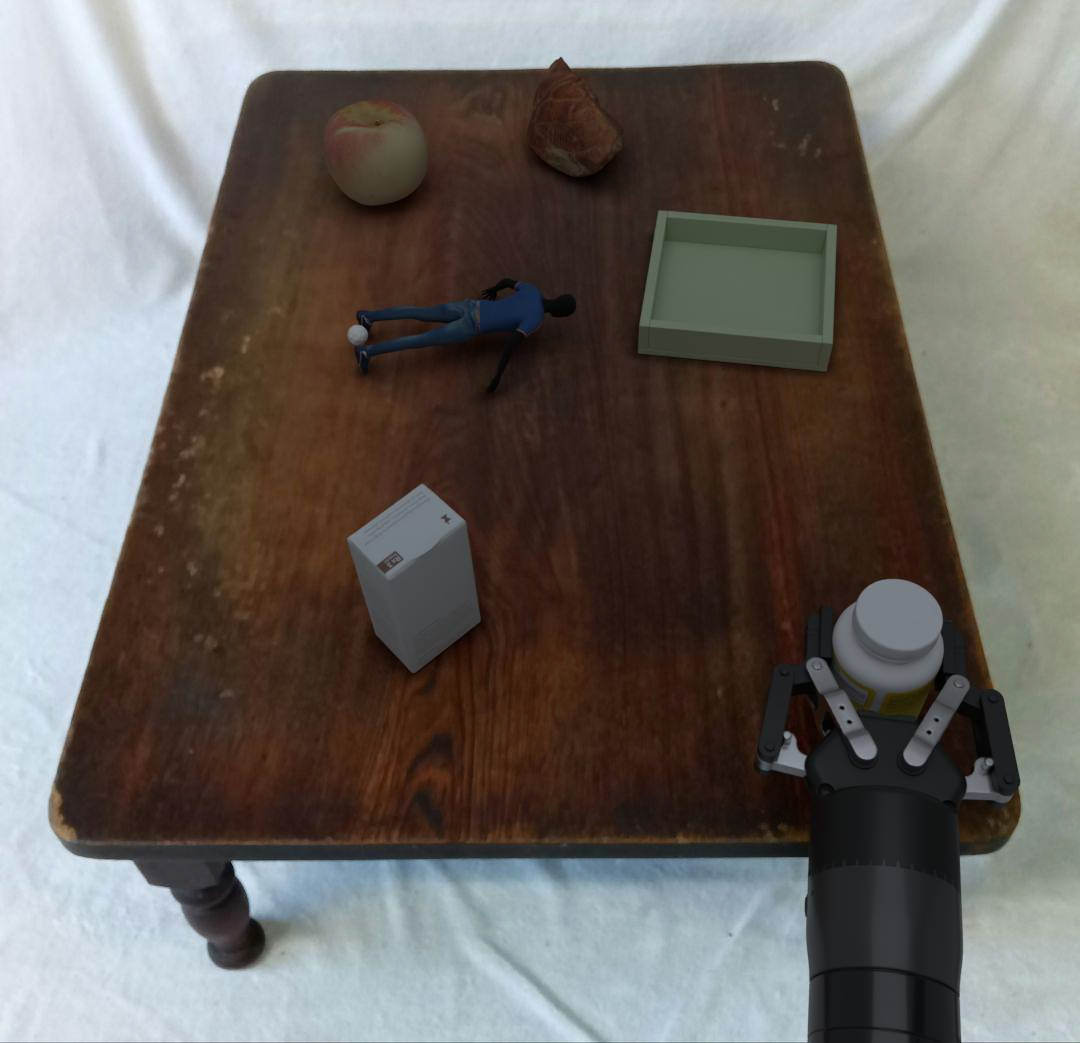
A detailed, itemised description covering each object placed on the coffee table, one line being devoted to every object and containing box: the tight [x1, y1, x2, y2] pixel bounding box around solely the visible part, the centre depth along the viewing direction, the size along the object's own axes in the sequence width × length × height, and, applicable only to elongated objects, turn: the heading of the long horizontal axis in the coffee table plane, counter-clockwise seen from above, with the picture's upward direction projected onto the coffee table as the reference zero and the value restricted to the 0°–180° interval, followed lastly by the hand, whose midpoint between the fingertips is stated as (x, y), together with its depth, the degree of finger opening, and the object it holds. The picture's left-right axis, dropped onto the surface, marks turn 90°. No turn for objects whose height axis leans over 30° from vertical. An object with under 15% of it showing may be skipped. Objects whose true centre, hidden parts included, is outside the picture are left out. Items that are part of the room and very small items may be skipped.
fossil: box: [525, 56, 626, 178], centre depth 106 cm, size 13×8×10 cm
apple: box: [322, 99, 429, 206], centre depth 103 cm, size 9×9×8 cm
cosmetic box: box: [346, 483, 482, 674], centre depth 74 cm, size 6×4×12 cm
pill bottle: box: [829, 578, 944, 720], centre depth 69 cm, size 6×6×11 cm
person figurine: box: [346, 277, 577, 396], centre depth 93 cm, size 11×4×18 cm
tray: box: [637, 209, 838, 373], centre depth 95 cm, size 15×14×3 cm
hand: (883, 620), depth 70 cm, fingers closed on pill bottle, 6 cm apart
